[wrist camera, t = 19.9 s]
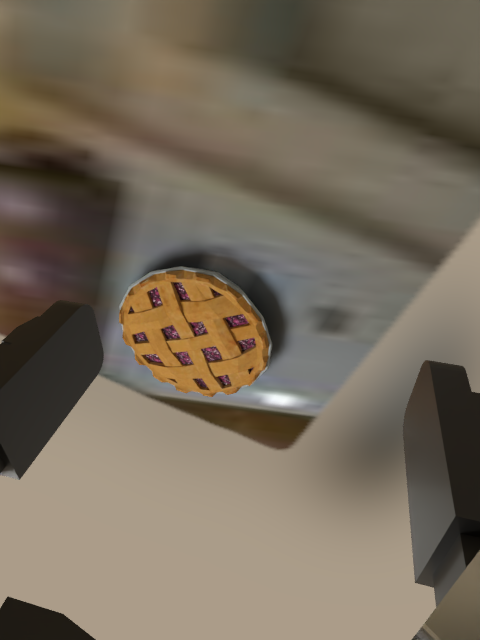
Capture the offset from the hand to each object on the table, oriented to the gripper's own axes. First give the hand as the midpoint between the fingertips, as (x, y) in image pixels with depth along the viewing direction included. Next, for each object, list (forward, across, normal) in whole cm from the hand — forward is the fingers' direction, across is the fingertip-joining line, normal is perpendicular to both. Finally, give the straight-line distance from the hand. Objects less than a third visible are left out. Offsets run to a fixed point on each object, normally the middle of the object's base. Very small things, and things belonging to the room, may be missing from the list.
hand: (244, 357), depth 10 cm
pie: (+38, +15, +30) cm, 51 cm away
